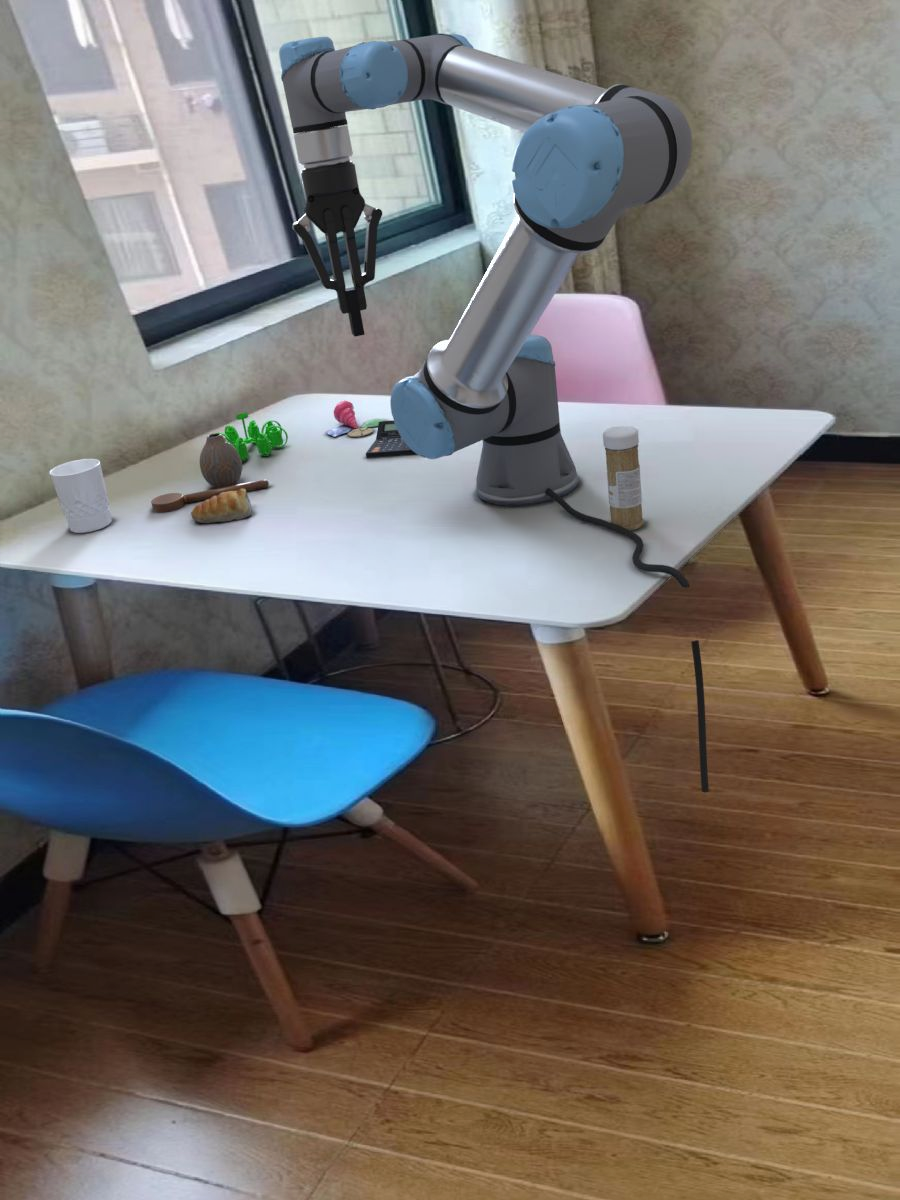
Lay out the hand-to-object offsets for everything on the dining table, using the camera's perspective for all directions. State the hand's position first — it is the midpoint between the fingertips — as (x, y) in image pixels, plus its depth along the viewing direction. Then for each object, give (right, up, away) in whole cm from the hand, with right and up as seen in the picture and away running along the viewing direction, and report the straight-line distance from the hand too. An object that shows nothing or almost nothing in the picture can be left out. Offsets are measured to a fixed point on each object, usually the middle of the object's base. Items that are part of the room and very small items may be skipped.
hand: (358, 334), depth 168 cm
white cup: (-45, -27, +18) cm, 55 cm away
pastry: (-22, -26, +14) cm, 36 cm away
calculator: (+5, -12, +35) cm, 37 cm away
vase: (-25, -19, +28) cm, 42 cm away
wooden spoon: (-27, -22, +23) cm, 41 cm away
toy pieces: (-4, -7, +49) cm, 49 cm away
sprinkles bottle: (+37, -29, -12) cm, 49 cm away
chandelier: (-23, -12, +44) cm, 51 cm away
